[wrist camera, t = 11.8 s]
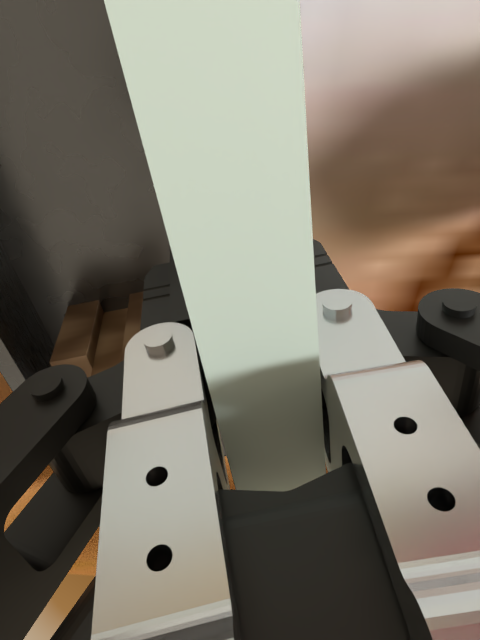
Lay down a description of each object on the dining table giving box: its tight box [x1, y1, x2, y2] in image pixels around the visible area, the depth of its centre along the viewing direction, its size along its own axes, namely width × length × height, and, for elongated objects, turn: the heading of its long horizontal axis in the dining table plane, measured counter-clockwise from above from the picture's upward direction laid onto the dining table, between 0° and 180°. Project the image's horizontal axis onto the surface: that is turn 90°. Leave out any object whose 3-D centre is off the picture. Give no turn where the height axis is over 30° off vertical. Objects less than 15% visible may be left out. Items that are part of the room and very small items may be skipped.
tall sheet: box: [104, 0, 326, 491], centre depth 14 cm, size 2×16×18 cm, turn 8°
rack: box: [0, 0, 227, 527], centre depth 27 cm, size 19×38×6 cm, turn 8°
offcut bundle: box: [49, 291, 144, 378], centre depth 29 cm, size 6×14×9 cm, turn 8°
